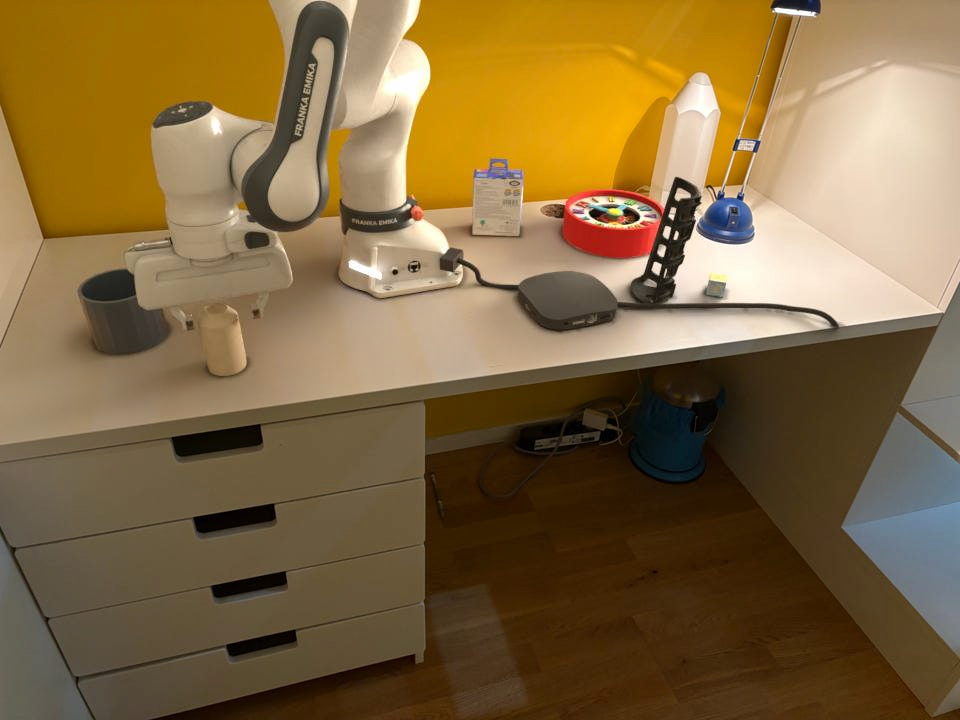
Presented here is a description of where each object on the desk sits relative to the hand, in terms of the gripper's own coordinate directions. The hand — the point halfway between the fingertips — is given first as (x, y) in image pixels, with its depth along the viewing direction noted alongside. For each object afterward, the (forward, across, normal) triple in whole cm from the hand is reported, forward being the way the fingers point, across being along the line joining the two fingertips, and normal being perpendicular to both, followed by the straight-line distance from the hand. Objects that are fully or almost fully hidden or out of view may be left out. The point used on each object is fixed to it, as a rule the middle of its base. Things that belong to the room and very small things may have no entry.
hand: (224, 322), depth 103 cm
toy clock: (+8, +78, +20) cm, 81 cm away
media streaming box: (+8, +55, -1) cm, 56 cm away
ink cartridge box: (+8, +56, +30) cm, 64 cm away
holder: (+8, +72, -3) cm, 73 cm away
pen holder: (+8, -14, +15) cm, 22 cm away
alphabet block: (+8, +83, -6) cm, 83 cm away
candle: (+8, -1, +1) cm, 8 cm away
